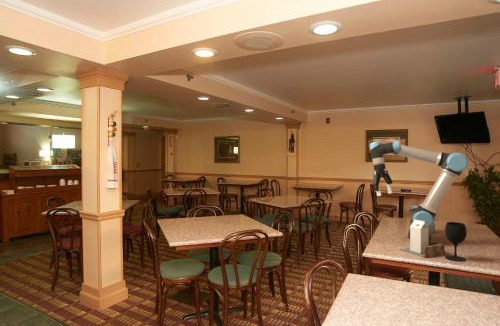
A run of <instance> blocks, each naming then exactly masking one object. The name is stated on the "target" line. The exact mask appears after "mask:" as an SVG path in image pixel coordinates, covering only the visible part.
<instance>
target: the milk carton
mask: <svg viewBox="0 0 500 326" xmlns="http://www.w3.org/2000/svg"><path fill="white" fill-rule="evenodd" d="M409 229H410V239H409V241H410V242H409V243H410V244H409V248H410V251H414V252H417V253H423V247H426V246H428V226H427V225H426V224H425V221H420V220H415V219H414V222H413V223H412V225H411V226H409Z"/></svg>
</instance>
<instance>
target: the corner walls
mask: <svg viewBox="0 0 500 326" xmlns="http://www.w3.org/2000/svg"><path fill="white" fill-rule="evenodd" d="M443 255H444V256H445V243H441V242H437V241H433V240H428V246H426V247H423V257H422V258H425V259H426V258H431V257H432V256H433V257H437V256H438V257H439V256H443Z"/></svg>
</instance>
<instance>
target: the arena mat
mask: <svg viewBox="0 0 500 326" xmlns="http://www.w3.org/2000/svg"><path fill="white" fill-rule="evenodd" d="M399 250H400V251H403V252H407V253H410V254H412V255H415V256H419V257H421V258H424V257H423V253H417V252H414V251H410V247H406V248H400V249H399Z"/></svg>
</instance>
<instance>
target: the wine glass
mask: <svg viewBox="0 0 500 326" xmlns="http://www.w3.org/2000/svg"><path fill="white" fill-rule="evenodd" d="M444 234H445V237H446V238H447V240H448V241H449V242H450V243H452V244H453V246H454V247H453V248H454V249H453V250H454V254H453V255H452V254H450V255H449V254H448V255H444V258H445V259H447V260H450V261H451V262H453V261H454V262H458V263H459V262H462V263H463V262H466V261H467V258H465V256H464V257H463V256H460V255H458V254H457V248H458V245H460V244H461V243H463V242H464V241H465V240H466V237H467V226H466V224H465V223H463V222H456V221H448V222H446V224H445V227H444Z"/></svg>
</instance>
